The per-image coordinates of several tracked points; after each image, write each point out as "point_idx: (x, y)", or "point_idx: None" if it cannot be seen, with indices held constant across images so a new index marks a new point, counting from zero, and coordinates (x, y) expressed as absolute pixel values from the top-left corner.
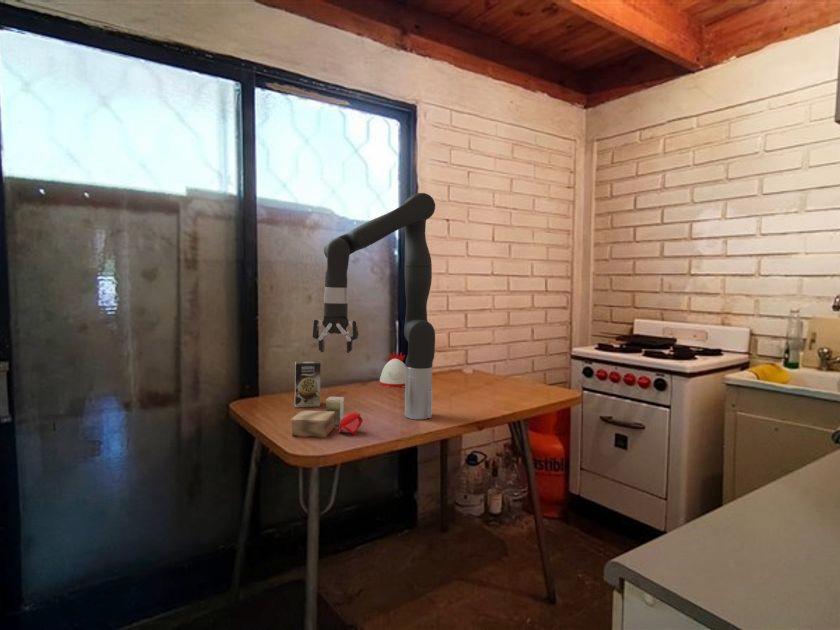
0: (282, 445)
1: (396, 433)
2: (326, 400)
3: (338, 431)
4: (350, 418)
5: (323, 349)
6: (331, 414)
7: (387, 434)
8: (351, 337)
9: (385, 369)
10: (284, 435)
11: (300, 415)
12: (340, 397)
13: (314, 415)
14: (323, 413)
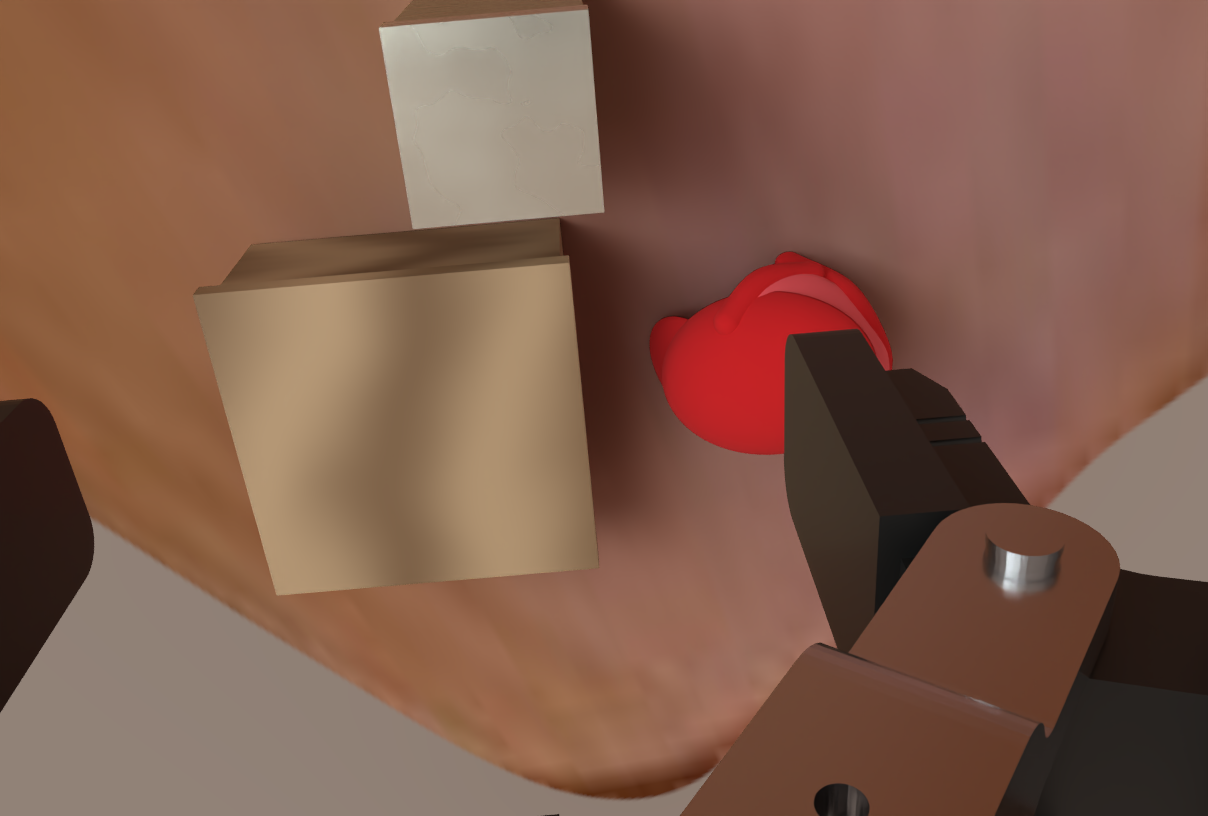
0: (365, 679)
1: (1163, 261)
2: (421, 226)
3: (657, 375)
4: None
5: (42, 519)
6: (570, 375)
7: (1082, 305)
8: (1109, 811)
9: None
10: (250, 503)
11: (289, 473)
12: (549, 50)
13: (420, 444)
14: (475, 359)
